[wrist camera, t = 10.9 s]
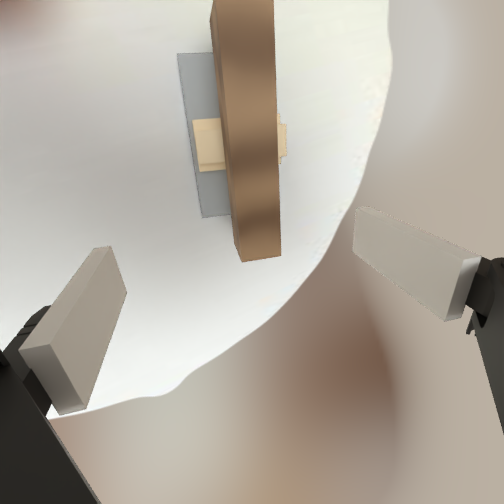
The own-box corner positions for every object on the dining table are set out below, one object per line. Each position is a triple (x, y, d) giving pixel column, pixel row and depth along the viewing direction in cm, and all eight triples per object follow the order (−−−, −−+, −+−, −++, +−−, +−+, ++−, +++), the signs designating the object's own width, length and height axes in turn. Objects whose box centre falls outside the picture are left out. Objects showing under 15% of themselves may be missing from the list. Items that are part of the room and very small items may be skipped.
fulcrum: (177, 56, 28) (174, 38, 22) (271, 53, 29) (290, 35, 24) (201, 215, 35) (204, 231, 29) (276, 205, 36) (291, 219, 31)
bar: (209, 20, 22) (214, -7, 18) (256, 19, 23) (273, -7, 18) (234, 243, 31) (241, 262, 26) (268, 237, 31) (281, 256, 27)
